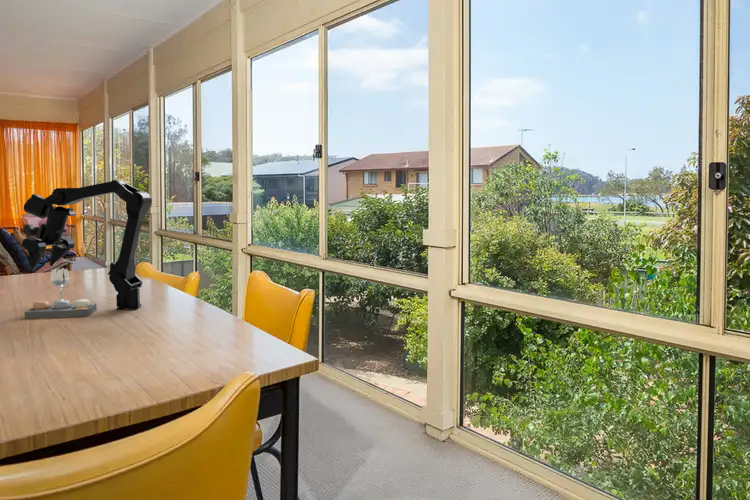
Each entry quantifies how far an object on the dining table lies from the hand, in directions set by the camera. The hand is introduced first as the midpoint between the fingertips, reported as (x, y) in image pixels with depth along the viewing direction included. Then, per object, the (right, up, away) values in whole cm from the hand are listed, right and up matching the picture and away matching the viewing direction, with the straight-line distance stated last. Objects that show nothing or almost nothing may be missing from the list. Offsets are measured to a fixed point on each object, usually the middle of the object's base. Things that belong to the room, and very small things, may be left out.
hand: (41, 266), depth 191 cm
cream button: (+18, -13, -8) cm, 24 cm away
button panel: (+12, -15, -9) cm, 21 cm away
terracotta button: (+6, -13, -11) cm, 18 cm away
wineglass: (+2, -13, +8) cm, 15 cm away
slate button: (+12, -13, -9) cm, 20 cm away
